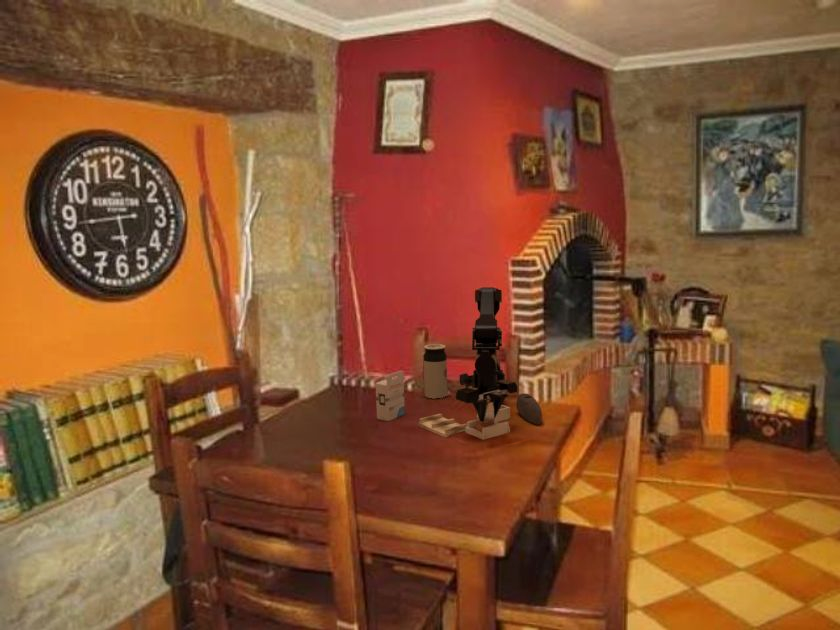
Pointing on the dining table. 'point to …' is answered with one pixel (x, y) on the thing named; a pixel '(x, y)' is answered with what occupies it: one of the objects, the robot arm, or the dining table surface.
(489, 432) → the cradle
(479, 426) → the pad
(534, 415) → the perforated stone tool
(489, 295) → the robot arm
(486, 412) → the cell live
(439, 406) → the dining table surface
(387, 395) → the ink box
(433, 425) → the troughs
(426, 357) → the travel mug
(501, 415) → the bin
